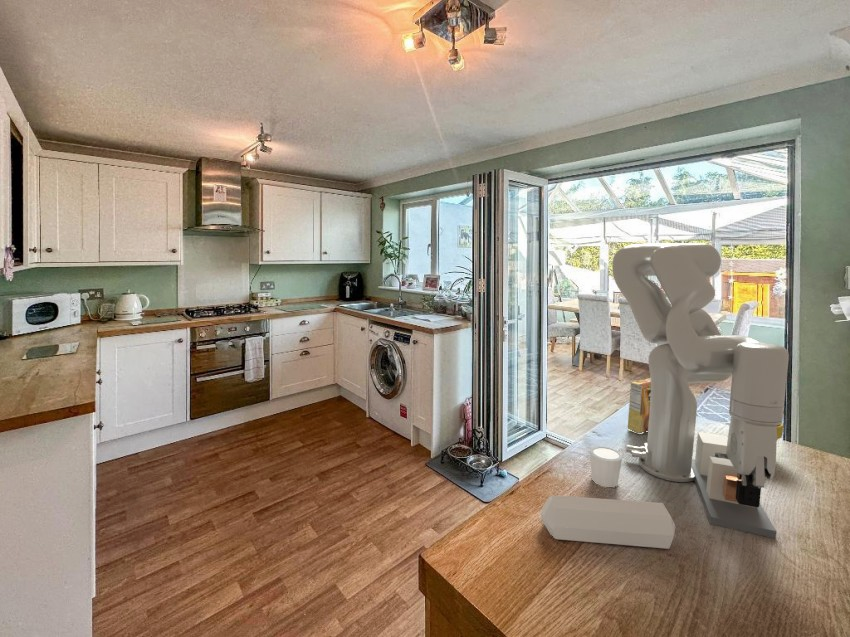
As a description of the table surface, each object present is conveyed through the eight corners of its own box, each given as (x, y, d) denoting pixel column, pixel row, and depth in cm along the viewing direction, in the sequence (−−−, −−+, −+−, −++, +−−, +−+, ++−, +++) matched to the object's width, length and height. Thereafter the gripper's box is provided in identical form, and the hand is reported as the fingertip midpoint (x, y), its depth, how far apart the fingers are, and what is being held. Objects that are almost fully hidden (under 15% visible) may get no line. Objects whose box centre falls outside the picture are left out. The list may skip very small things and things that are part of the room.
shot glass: (583, 473, 95) (584, 446, 94) (610, 472, 96) (612, 445, 95) (598, 490, 88) (599, 461, 87) (627, 488, 89) (629, 459, 88)
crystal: (545, 529, 71) (689, 541, 67) (540, 490, 76) (674, 499, 73) (541, 546, 75) (676, 558, 72) (537, 508, 81) (662, 518, 77)
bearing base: (775, 538, 73) (781, 491, 71) (710, 523, 77) (714, 479, 75) (737, 472, 94) (742, 435, 93) (688, 464, 99) (691, 428, 97)
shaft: (752, 505, 76) (755, 484, 76) (725, 499, 78) (727, 479, 77) (726, 457, 94) (728, 440, 93) (704, 454, 96) (705, 437, 95)
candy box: (645, 424, 122) (649, 377, 120) (659, 430, 118) (663, 381, 116) (626, 430, 118) (629, 381, 116) (639, 436, 114) (643, 385, 112)
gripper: (719, 395, 80) (713, 480, 82) (742, 421, 67) (734, 521, 69) (766, 400, 77) (758, 487, 79) (800, 428, 63) (789, 533, 66)
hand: (747, 503), depth 74 cm, fingers closed
